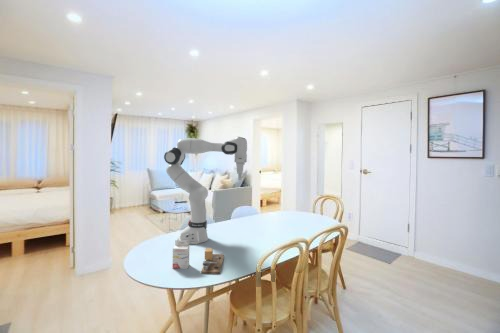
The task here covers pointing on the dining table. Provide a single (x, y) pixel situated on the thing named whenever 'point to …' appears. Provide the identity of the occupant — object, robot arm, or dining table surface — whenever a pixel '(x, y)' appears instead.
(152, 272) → the dining table surface
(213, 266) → the board
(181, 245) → the ink cartridge box
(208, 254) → the slider
